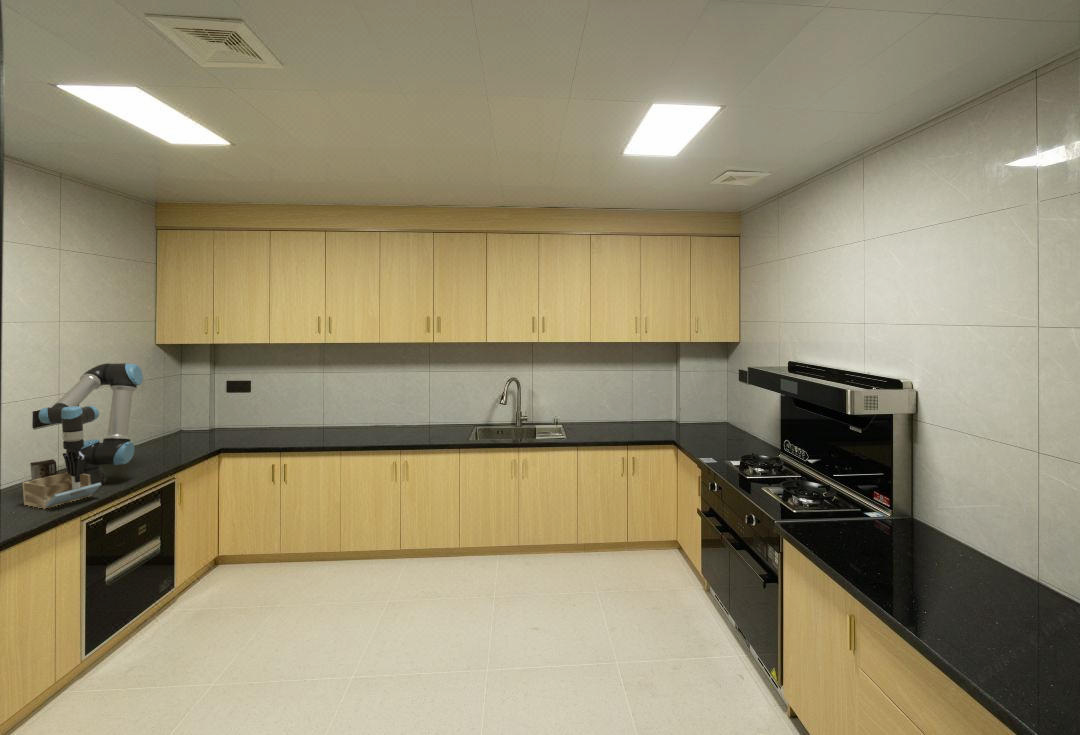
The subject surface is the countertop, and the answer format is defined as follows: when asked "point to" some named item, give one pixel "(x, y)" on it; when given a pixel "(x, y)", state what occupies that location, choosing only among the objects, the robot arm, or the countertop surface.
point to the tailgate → (73, 494)
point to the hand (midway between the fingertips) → (76, 488)
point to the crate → (50, 489)
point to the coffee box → (43, 469)
